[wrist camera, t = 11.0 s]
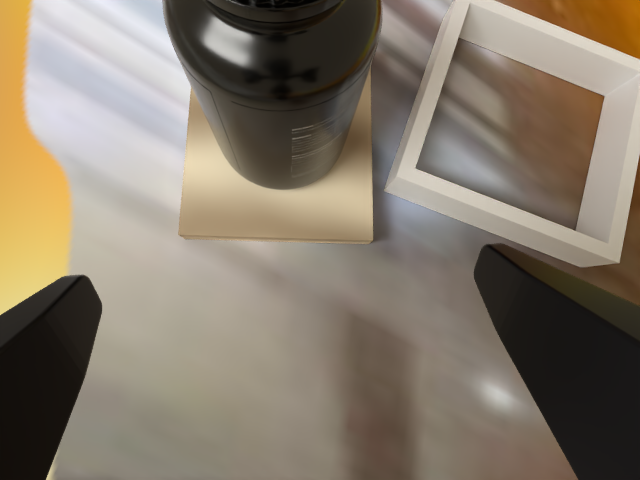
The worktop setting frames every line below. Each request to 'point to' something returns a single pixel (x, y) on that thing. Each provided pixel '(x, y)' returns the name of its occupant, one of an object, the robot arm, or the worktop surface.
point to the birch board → (277, 192)
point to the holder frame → (609, 148)
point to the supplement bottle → (277, 79)
